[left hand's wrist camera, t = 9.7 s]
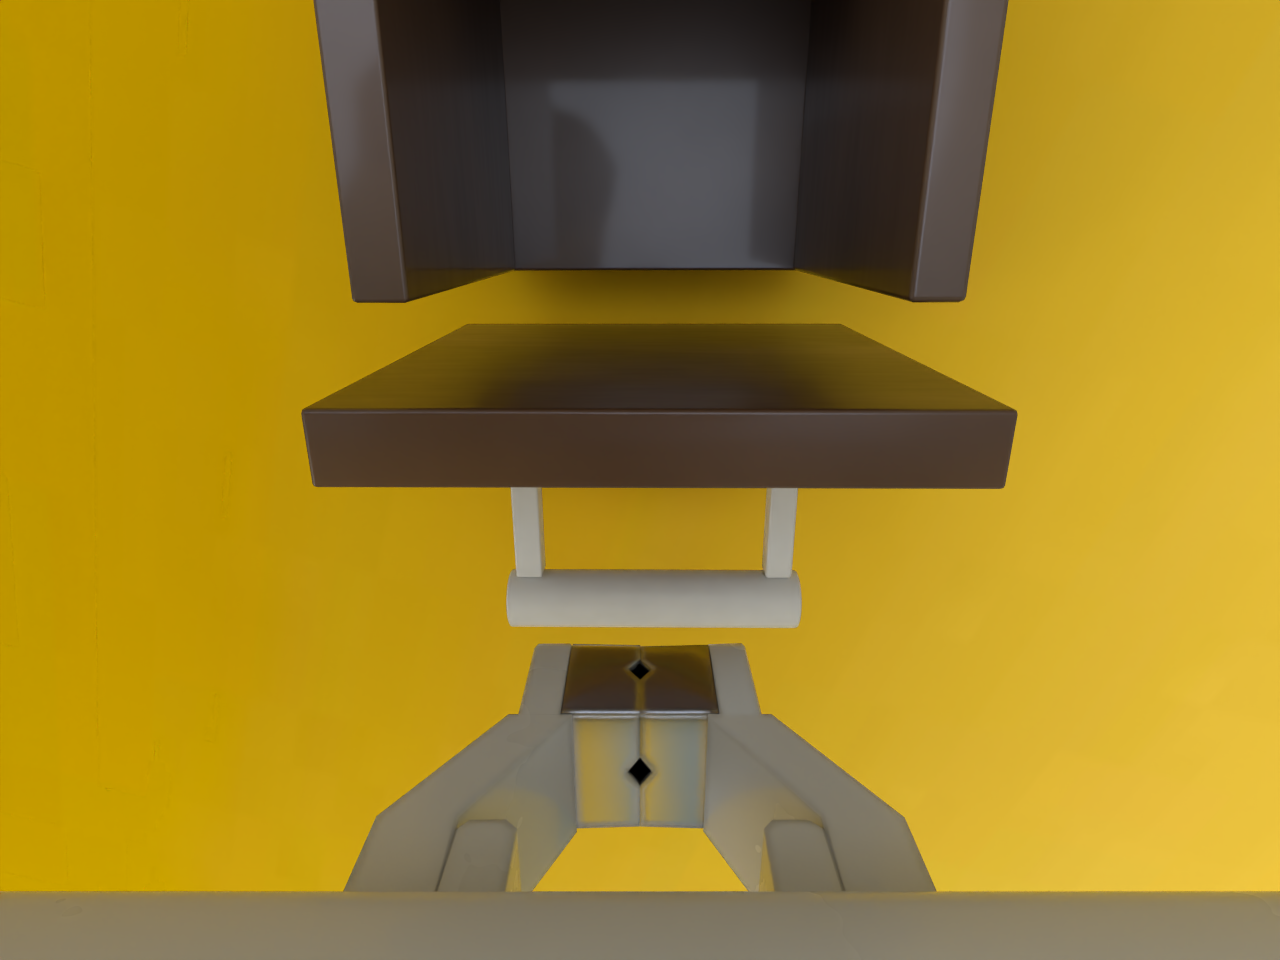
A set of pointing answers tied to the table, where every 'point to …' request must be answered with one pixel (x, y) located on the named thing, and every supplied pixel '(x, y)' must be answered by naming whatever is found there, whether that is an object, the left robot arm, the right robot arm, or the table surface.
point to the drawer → (659, 260)
